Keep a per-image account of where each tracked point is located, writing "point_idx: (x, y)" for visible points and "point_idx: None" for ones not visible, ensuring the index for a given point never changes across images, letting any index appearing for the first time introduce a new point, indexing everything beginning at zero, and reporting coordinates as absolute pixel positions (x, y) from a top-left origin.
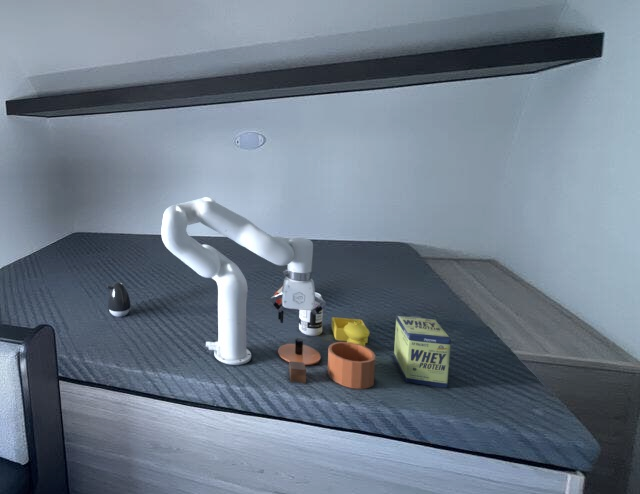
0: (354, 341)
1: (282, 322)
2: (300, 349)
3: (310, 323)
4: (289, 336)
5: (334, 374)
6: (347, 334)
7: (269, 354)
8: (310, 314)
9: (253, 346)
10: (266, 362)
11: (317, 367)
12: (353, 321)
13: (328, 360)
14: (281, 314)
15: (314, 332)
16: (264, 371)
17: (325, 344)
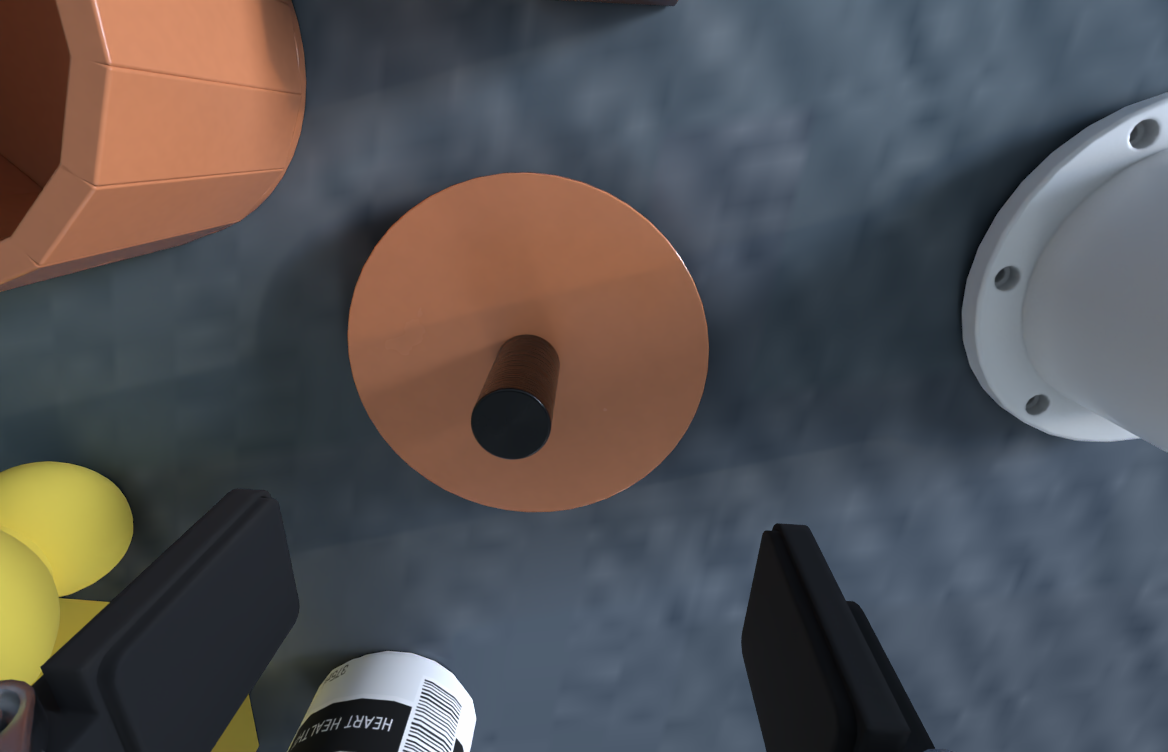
0: (14, 522)
1: (777, 532)
2: (512, 354)
3: (286, 563)
4: (559, 626)
5: None
6: (11, 568)
7: (777, 349)
8: (198, 742)
9: (880, 460)
10: (842, 203)
11: (394, 180)
12: None
13: (223, 51)
14: (877, 672)
15: (368, 669)
16: (912, 16)
17: (308, 549)
